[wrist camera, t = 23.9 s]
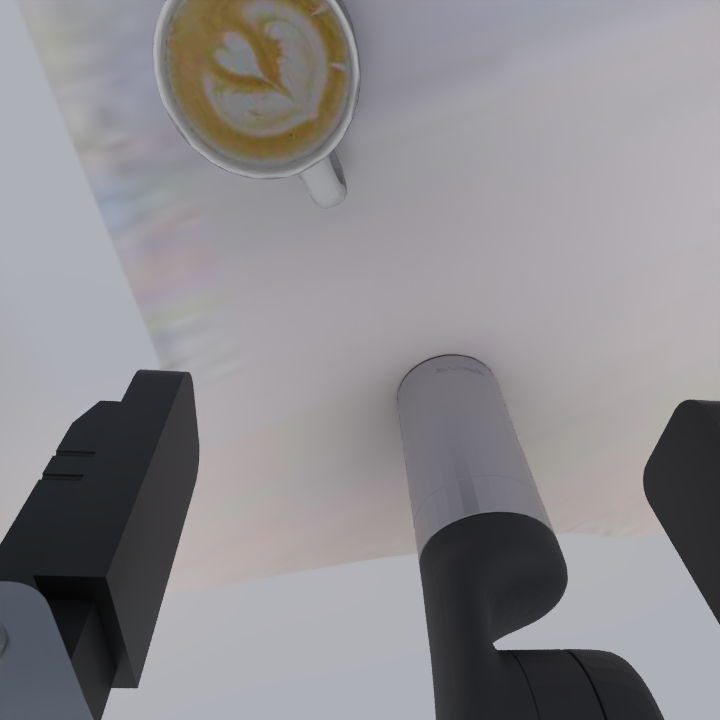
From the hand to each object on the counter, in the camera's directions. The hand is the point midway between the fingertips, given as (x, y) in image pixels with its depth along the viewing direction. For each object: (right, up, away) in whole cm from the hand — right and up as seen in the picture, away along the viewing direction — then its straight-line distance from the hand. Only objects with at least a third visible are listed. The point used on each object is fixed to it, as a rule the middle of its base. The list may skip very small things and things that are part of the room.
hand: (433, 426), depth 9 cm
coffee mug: (-6, +19, +27) cm, 34 cm away
